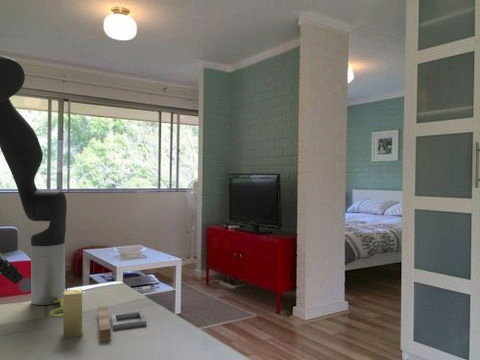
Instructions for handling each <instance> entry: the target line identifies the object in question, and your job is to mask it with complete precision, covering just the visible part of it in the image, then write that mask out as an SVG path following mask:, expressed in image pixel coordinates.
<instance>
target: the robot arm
mask: <svg viewBox="0 0 480 360" xmlns="http://www.w3.org/2000/svg"><path fill="white" fill-rule="evenodd" d="M25 79H26V76H25V70H24V68H23V66H22V65H21V64H20V63H19V62H18V61H17V60H15V59H13V58H12V57H8V56H5V55H0V150H1V154H2V155H3V158H4V160H5V161H6V164H7V165H8V166H7V167H8V168H9V170H10V173H11V175H12V178H13V180H14V183H15V185H16V187H17V189H16V190H17V192H18V195H19V199H20V202H21V205H22V208H23V212H24V214H25V216H26V218H27V219H29V220H30V221H32V222H49V225H48V227H47V228H46V229H45V230H43V231H40V232H37V233H34V234H32V236H31V237H30V268H31V269H30V272H31V273H30V284H31V285H30V286H31V288H30V292H31V294H30V295H31V296H30V297H31V298H30V299H31V300H30V301H31V304H32V305H34V306H46V305H48V306H49V305H54V304H56V303H54V300H60V298H63V294H64V290H66V247H65V246H66V245H65V244H66V240H65V239H66V231H67V230H66V229H67V226H66V225H67V224H66V223H67V207H68V204H67V197H66V195H65V193H64V192H63V191H61V190H39V189H38V188H37V185H36V182H35V178H36V175H37V173H38V171H39V169H40V167H41V164H42V162H43V159H44V158H43V157H44V153H43V150H42V147H41V145H40V141H39V138H38V136H37V133H36V132H35V130H34V128H33V127H32V126H31V125H30V123H28V121H27V120H26V119H25V118H24V116H23V115H22V114H21V113H20V112H19V111H18V110H17V109H16V107H15V106H14V104H13V103H12V101H11V99H10V98H11V97H14V96H15V95H16V94H17V93H18V92H20V90H21V89H22V88H23V86H24V83H25ZM0 275H2V276H4V277H5V279H8V280H9V281H10V282H11V283H12V284H15V285H17V284H19V282H21V281H22V279H23V277H24V275H23V274H22V273H20V272H19V269H18V267H17V266H15V265H14V264H13V263H11V262H10V261H8V260H7V259H6V257H5V256H4V255H3V254H2V251H0Z"/></svg>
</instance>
